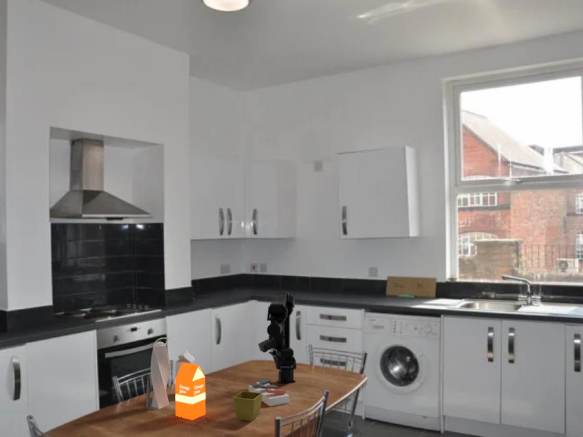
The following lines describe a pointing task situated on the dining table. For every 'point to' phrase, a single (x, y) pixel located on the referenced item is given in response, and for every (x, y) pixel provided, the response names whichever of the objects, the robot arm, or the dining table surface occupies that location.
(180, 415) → the orange juice
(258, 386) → the rocker middle
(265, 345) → the robot arm
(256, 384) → the rocker near
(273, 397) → the power strip
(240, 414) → the flower pot
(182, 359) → the milk carton
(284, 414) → the dining table surface
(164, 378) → the skyscraper
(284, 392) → the rocker red
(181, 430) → the dining table surface
